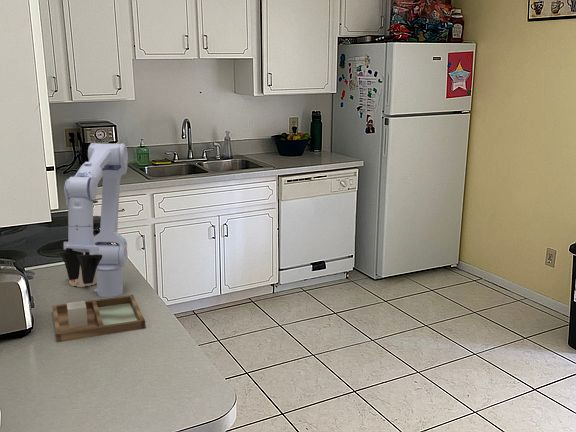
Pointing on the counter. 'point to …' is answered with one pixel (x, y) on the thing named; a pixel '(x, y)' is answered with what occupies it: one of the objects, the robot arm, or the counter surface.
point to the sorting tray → (100, 318)
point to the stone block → (77, 314)
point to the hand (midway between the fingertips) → (80, 281)
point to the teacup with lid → (79, 281)
